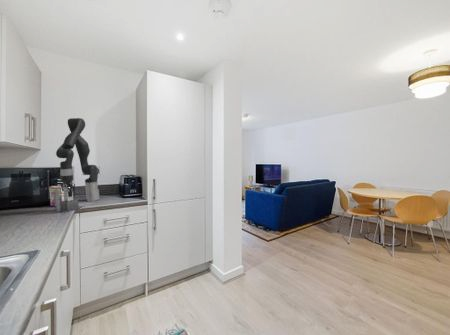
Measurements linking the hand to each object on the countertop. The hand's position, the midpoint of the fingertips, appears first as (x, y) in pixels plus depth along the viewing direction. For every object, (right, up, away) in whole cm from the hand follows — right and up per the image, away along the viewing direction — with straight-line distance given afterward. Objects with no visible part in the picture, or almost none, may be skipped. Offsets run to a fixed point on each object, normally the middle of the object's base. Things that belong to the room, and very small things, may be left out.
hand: (68, 196), depth 152 cm
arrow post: (-2, -11, -6) cm, 12 cm away
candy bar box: (-19, -10, +13) cm, 25 cm away
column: (0, -8, +1) cm, 8 cm away
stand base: (0, -10, +1) cm, 10 cm away
